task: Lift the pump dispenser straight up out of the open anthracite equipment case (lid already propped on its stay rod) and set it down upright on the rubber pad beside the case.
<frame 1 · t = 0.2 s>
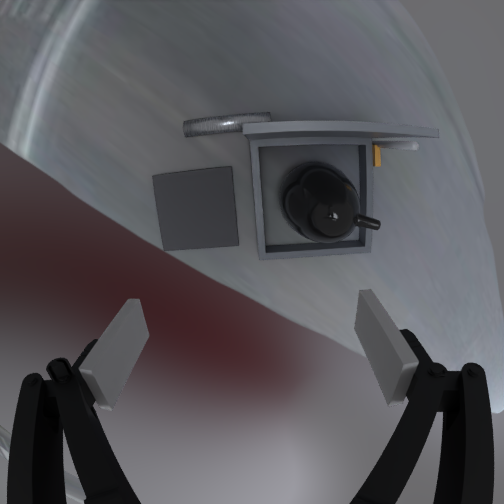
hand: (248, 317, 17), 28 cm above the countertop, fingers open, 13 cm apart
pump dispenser: (312, 194, 42), resting in case
case: (312, 195, 42), on the countertop
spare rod: (228, 126, 39), on the countertop, tilted 13°
pad: (195, 210, 43), on the countertop
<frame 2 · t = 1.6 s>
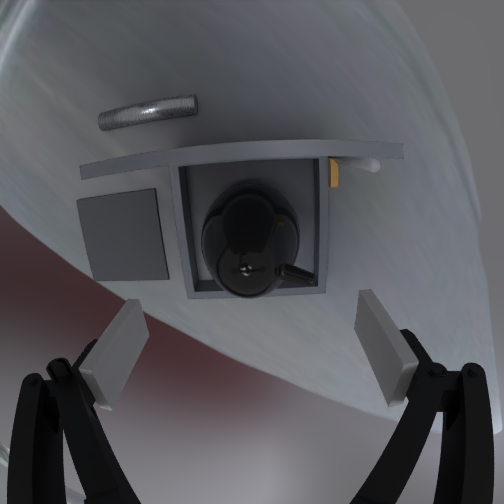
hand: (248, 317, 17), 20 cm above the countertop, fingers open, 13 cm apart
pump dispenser: (252, 221, 35), resting in case
case: (252, 222, 35), on the countertop
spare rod: (142, 109, 28), point 2 cm above the countertop, tilted 169°
pad: (121, 238, 36), on the countertop
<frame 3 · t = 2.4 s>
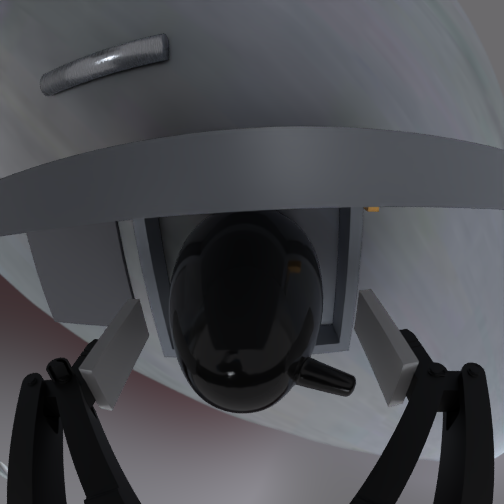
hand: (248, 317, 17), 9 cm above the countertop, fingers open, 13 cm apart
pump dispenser: (250, 255, 25), resting in case
case: (250, 256, 25), on the countertop
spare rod: (105, 71, 19), on the countertop, tilted 22°
pad: (78, 273, 26), on the countertop
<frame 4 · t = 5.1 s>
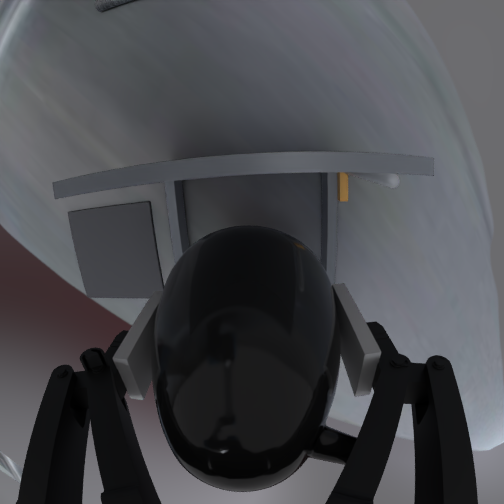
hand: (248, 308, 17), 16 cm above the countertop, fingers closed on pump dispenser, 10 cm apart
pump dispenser: (251, 279, 21), point 12 cm above the countertop, touching gripper
case: (254, 238, 32), on the countertop
pad: (114, 253, 33), on the countertop
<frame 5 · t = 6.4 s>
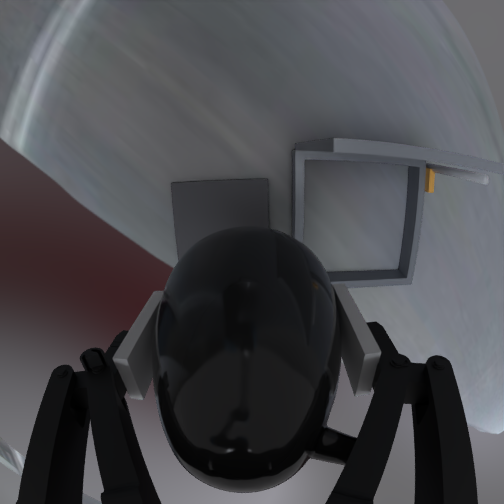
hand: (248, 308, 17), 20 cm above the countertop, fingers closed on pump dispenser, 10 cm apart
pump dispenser: (252, 280, 21), point 16 cm above the countertop, touching gripper
case: (356, 218, 36), on the countertop
pad: (221, 227, 37), on the countertop
when the fingers open (6 cm above the countertop, at t = 10.1 s): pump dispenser drops 1 cm, resting on pad.
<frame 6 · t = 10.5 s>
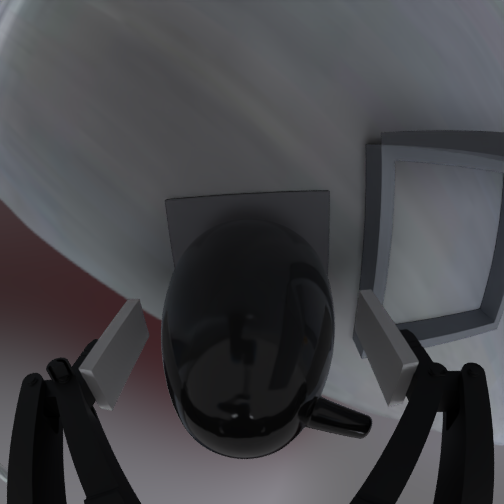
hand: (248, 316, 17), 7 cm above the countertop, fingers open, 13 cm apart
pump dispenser: (252, 271, 23), resting on pad
case: (445, 247, 22), on the countertop
pad: (251, 270, 23), on the countertop
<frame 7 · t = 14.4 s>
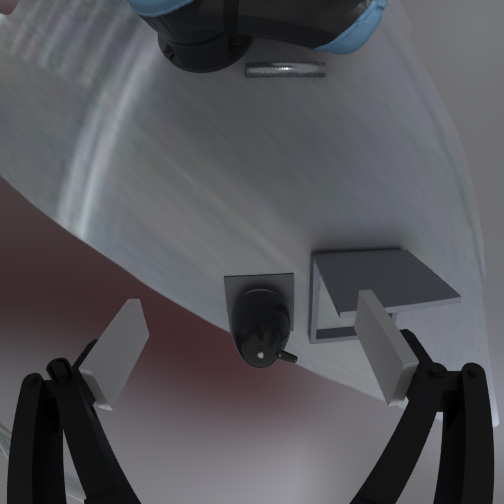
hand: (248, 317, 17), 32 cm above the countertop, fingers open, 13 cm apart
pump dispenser: (261, 305, 52), resting on pad
case: (354, 294, 51), on the countertop
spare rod: (286, 76, 38), point 1 cm above the countertop, tilted 74°
pad: (260, 304, 53), on the countertop
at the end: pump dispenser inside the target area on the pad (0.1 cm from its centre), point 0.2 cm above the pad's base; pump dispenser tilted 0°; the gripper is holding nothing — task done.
